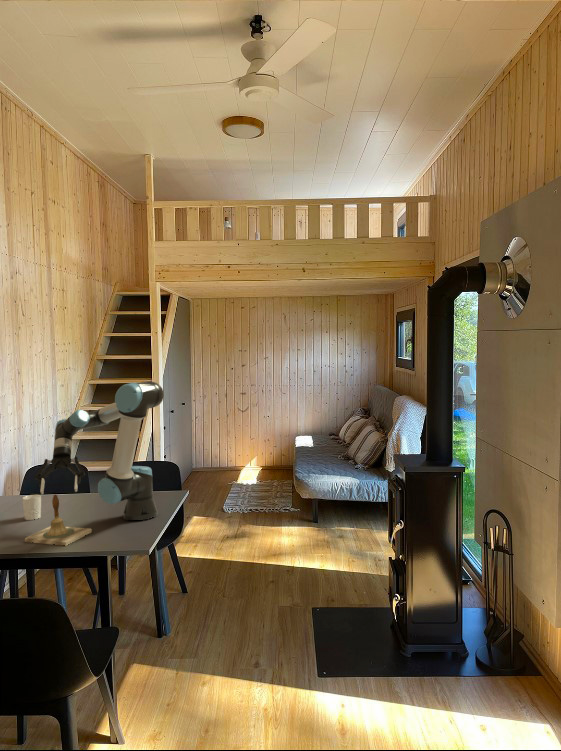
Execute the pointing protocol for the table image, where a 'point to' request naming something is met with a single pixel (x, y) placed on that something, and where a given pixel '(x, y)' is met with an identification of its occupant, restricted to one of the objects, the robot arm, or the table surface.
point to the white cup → (32, 507)
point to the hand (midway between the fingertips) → (58, 491)
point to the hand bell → (57, 521)
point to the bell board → (58, 540)
